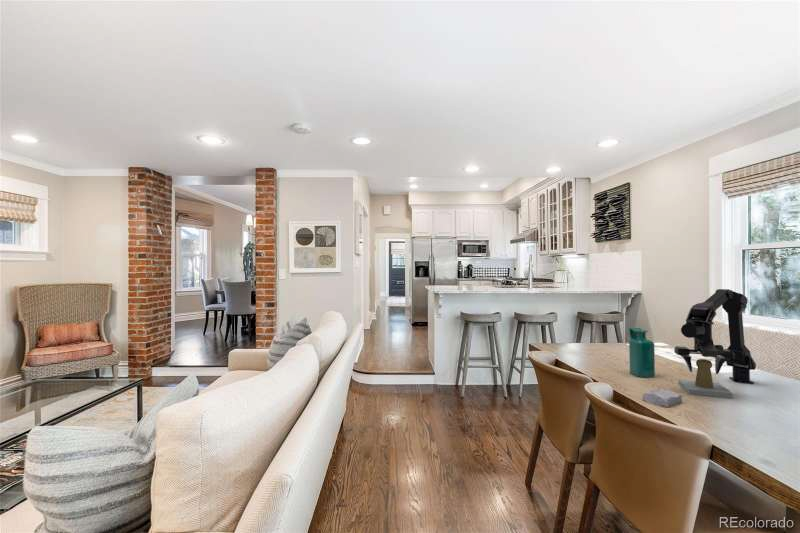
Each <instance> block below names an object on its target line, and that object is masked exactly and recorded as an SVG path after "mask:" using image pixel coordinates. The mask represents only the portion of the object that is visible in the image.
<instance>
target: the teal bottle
mask: <svg viewBox="0 0 800 533" xmlns="http://www.w3.org/2000/svg"><path fill="white" fill-rule="evenodd" d="M628 331H629V332H628V333H629V338H630V340H629V341H628V346H629V347H628V350H629V351H628V352H629V355H628V357H629V358H628V359H629V373H630V374H631V375H634V376H635V377H638V378H654V377H656V368H655V367H656V365H655V364H656V360H655V359H656V358H655V357H656V356H655V353H656V352H655V342H654V341H653V340H652V339H651V340H650V339H648V338H647V333H649V331H648V330H647V329H642V328H641V327H629V329H628Z"/></svg>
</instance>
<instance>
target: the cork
mask: <svg viewBox="0 0 800 533" xmlns="http://www.w3.org/2000/svg"><path fill="white" fill-rule="evenodd" d="M695 362H696V363H695V365H696V366H697V368H696V369H697V370H696V377H695V380H694V381H695V385H696V386H699V387H703V388H714V387H713V383H714V381H713V376H712V370H711V369H712V368H713V363H712V361H711V360H709V359H706V358H705V359H704V358H702V359H701V358H699V359H696V361H695Z"/></svg>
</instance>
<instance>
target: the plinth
mask: <svg viewBox="0 0 800 533" xmlns="http://www.w3.org/2000/svg"><path fill="white" fill-rule="evenodd" d="M695 381H696V380H689V379H688V380H687V379H678V386H680V388H682V390H684V391H685V392H686V393H687V394H688V395H694V396H695V395H696V396H703V397H713V396H714V397H716V398H723V397H724V399H727V398H728V399H734V393H733V392H732V391H731V390H729V389H728V388H726V387H725V386H723V385H722V384H720V383H719V382H713V387H714V388H703V387H699V386H696V385H695ZM714 397H713V398H714Z"/></svg>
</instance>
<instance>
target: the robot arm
mask: <svg viewBox="0 0 800 533" xmlns="http://www.w3.org/2000/svg"><path fill="white" fill-rule="evenodd" d="M748 301H749V300H748V297H747V296H746V295H744V294H742V293H740V292H736V291H733V290H732V289H729V288H728V289H727V288H726V289H724V288H721V289H719V288H718V289H715V292H714V293H713V294H712V295H711V296H710V297H708V298H707V299H706V300H705V301H704V302H698V303H696V304H694V305H692V306H691V307H690V309H689V311H688V313H687V317H686V319H685V323H684V324H683V325H682V326H681V327H680V332H681V334H682V335H683V336H684V337H685V338H688V339H690V338H693V340H694V341H693V342H694V345H693V348H691V349H690V348H688V347H686V346H680V345H679V346H678V345H677V346H674V349H673V350H674V352H673V353H675V354H676V355H677V356H680V357H681V358H683V361H685V364H686V366H687V368H688V370H689V372H690V373H692V372H693V365H692V356H691V355H701V356H702V357H704V358H707V357H709V358H710V357H711V358H714V360H715V361H714V371H715V374H716V375H718V374H719V373H720V371H721V368H722V367H723V365H724V364H725V363H726V366H728V367H731V368H732V376H729V377H728V378H729V379H730V380H732V381H734V383H744V384H755V382H754V381H752V380H751V371H752V370H753V371H755V370H756V367H757V363H756V362H755V360H754V358H753V357H752V355H751V351H750V350H749V348H748V347H747V346H746V345H745V332H744V331H745V330H744V322H743V321H744V320H743V318H744V317H743V313H744V311H745V310H746V309H747V305H748ZM720 307H721V308H722V309H723V310H724V311H725V313H727V321H728V322H727V323H728V332H729V333H728V334H729V335H728V336H729V346H728V347H727V348H724V346H723V344H714V339H713V333H712V332H713V331H712V330H713V329H712V328H713V327H712V325H714V324H715V323H714V321H713V320H714V319H715V317H716V316H717V312H716V311H717V310H718V309H719V308H720Z"/></svg>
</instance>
